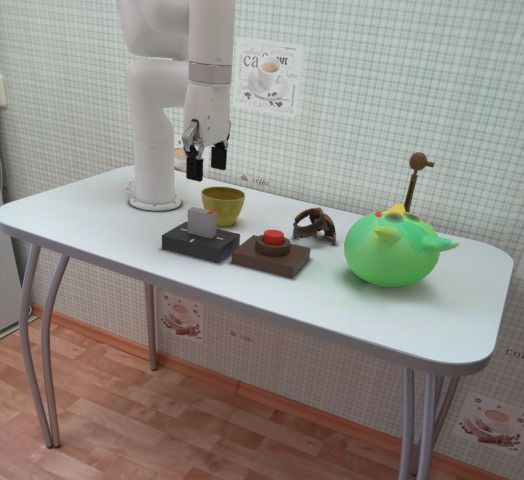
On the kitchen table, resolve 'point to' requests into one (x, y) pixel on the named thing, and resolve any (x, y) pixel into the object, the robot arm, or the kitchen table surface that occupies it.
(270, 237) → the power button
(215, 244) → the panel
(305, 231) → the brown openwork arch
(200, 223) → the grey upright block
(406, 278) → the toy bird
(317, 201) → the kitchen table surface
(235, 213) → the flower pot
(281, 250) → the button block
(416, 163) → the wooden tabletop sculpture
